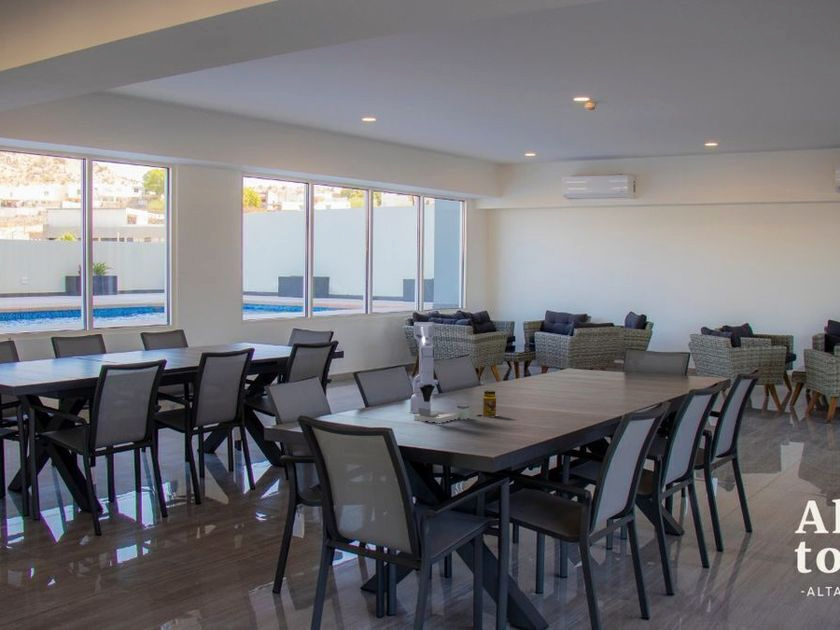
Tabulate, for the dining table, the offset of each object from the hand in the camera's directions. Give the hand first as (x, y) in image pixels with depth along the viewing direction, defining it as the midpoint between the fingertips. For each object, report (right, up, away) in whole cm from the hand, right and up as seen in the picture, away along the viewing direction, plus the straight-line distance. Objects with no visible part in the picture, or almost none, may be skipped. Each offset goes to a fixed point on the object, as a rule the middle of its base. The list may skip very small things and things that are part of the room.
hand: (426, 401), depth 382 cm
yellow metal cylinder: (+29, -9, +19) cm, 36 cm away
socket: (+5, -9, +7) cm, 12 cm away
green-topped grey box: (+17, -9, +10) cm, 22 cm away
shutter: (+1, -7, +1) cm, 7 cm away
